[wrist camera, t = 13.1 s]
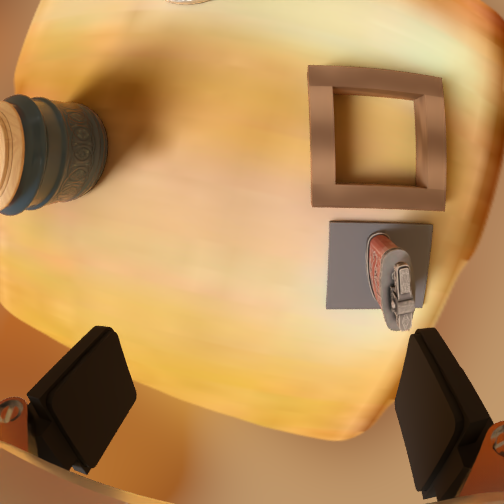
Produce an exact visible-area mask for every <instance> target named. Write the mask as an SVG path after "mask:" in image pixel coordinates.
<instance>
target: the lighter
mask: <svg viewBox="0 0 504 504" xmlns="http://www.w3.org/2000/svg"><path fill="white" fill-rule="evenodd" d="M365 259H366V273H367V278H368V283H369V286H370V290H371V293H372V295H373V297H374V299H375V300H376V301H377V302H378V303H379V305H380V307H381V309H382V311H383V315H384V319H385V322H386V324H387V326H388V328H389V329H391V330H393V331H407V330H409V329H410V328H411V326H412V318H413V313H414V311H415V293H416V288H415V278H414V271H413V267H412V263H411V259H410V256H409V254H408V253H407V252H406V251H405V250H403V249H402V248H399V247H397V246H396V245H395V244H394V243H393V242H392V241H391V239H390V238H389V236H388V235H387V234H385V233H384V232H381V231H376V232H373V233H371V234H370V235H369V236H368V238H367V240H366V253H365Z"/></svg>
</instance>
